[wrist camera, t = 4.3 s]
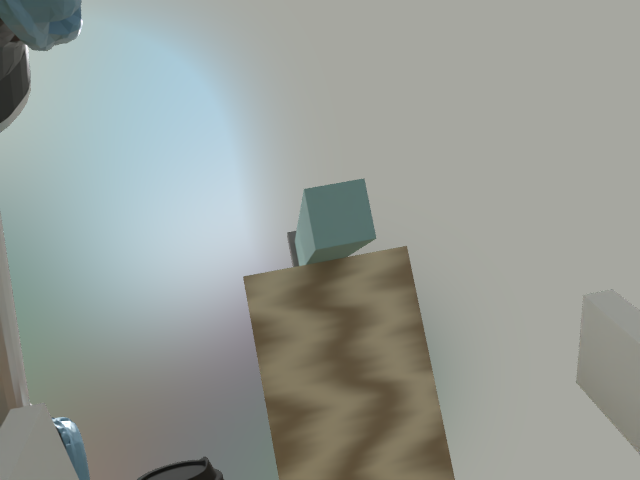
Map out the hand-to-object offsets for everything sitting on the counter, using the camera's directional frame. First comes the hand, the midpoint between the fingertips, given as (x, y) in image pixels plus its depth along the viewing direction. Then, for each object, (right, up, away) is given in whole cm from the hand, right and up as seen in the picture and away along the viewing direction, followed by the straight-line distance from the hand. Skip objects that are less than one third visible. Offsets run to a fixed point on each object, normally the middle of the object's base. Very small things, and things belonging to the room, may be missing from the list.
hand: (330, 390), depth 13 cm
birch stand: (+5, -28, +32) cm, 43 cm away
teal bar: (0, +2, +28) cm, 28 cm away
